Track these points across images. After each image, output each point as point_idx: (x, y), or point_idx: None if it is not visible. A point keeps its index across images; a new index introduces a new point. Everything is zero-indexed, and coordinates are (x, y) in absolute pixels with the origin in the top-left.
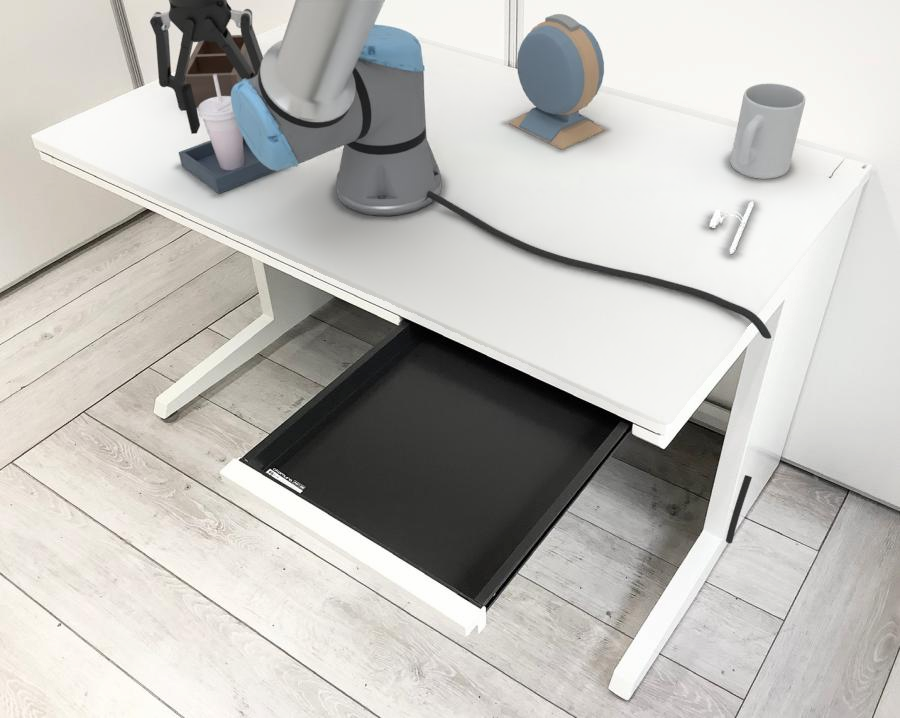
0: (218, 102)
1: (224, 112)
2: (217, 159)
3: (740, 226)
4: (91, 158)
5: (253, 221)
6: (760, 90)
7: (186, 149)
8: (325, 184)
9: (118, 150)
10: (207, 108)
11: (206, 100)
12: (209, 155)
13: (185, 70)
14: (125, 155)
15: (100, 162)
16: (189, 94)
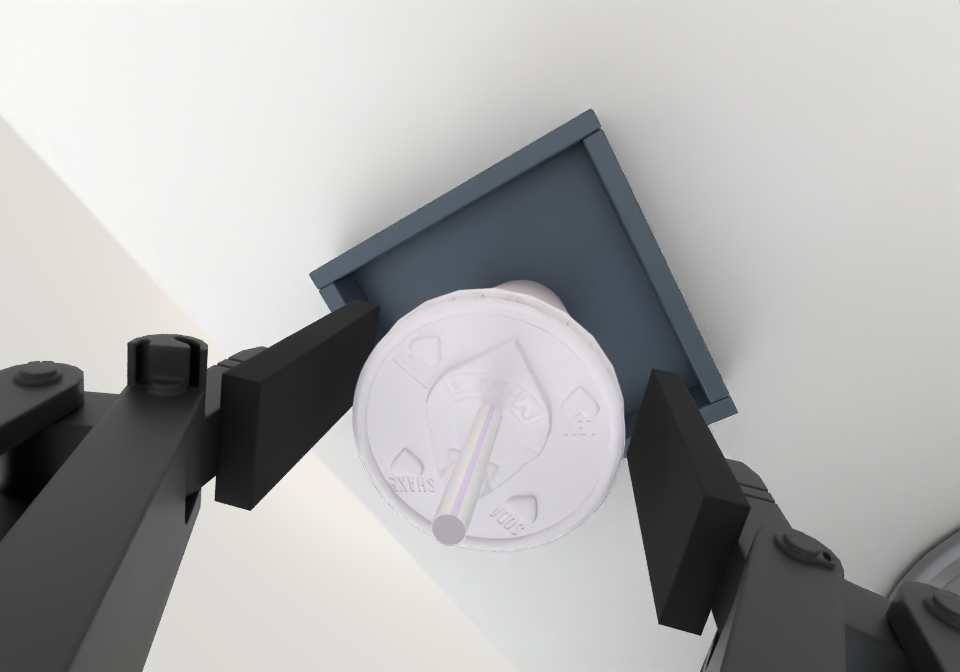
0: (476, 411)
1: (510, 532)
2: (465, 270)
3: None
4: (4, 100)
5: (568, 664)
6: None
7: (338, 260)
8: (848, 547)
9: (81, 53)
10: (408, 460)
11: (398, 339)
12: (434, 227)
13: (161, 587)
14: (117, 107)
15: (44, 144)
16: (276, 446)
